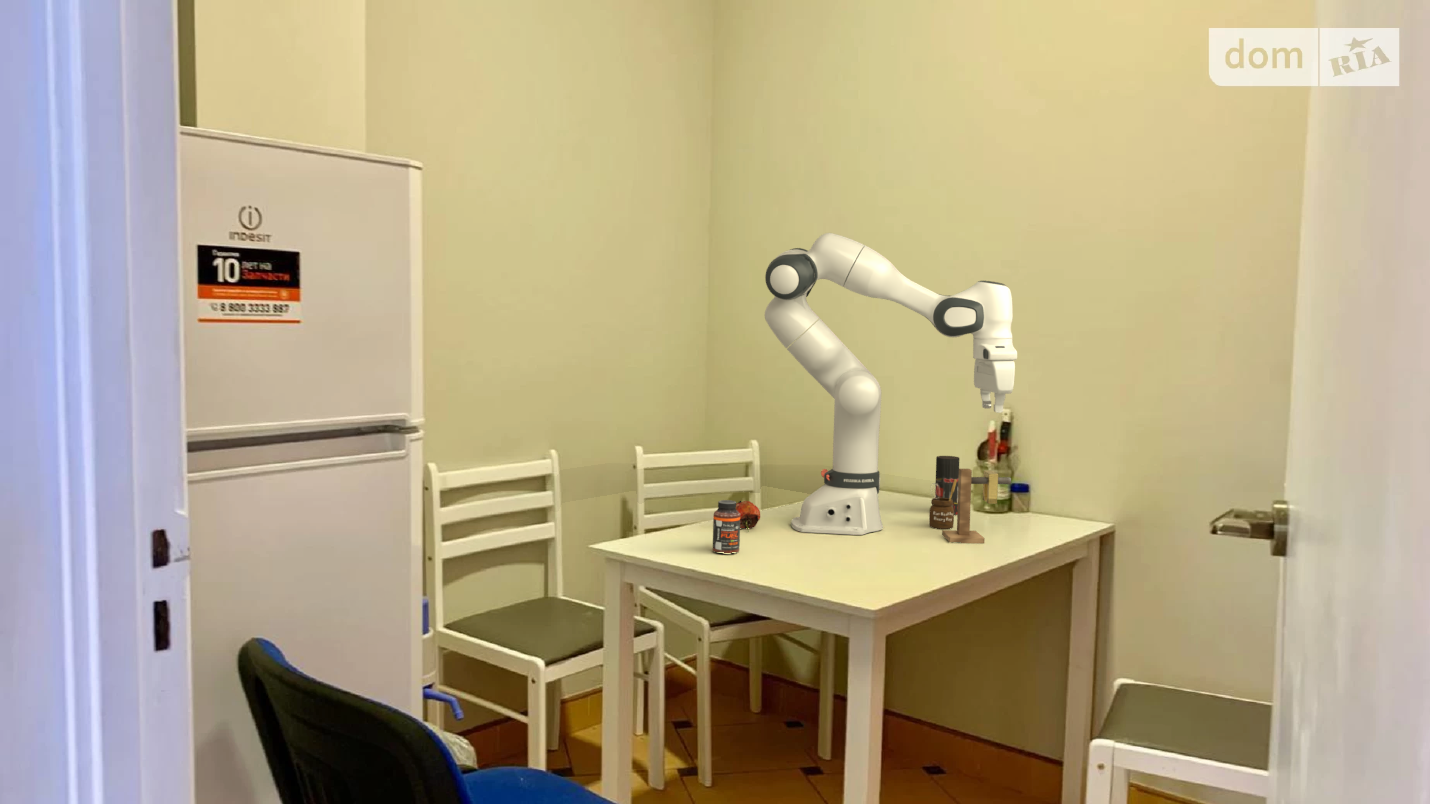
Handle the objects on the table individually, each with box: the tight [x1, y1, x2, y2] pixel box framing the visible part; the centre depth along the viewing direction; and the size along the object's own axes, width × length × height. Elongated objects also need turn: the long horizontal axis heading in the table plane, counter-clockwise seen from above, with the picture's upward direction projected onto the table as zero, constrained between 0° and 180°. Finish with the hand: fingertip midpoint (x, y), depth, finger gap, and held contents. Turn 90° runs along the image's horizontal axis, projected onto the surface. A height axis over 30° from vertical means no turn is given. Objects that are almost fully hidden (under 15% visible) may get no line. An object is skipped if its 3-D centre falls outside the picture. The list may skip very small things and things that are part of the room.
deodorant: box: [934, 455, 960, 516], centre depth 270 cm, size 6×6×15 cm
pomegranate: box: [736, 500, 761, 533], centre depth 248 cm, size 7×7×10 cm
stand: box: [941, 468, 1012, 544], centre depth 240 cm, size 15×8×17 cm, turn 90°
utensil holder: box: [928, 479, 957, 530], centre depth 253 cm, size 6×6×12 cm
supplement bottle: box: [712, 499, 741, 553], centre depth 225 cm, size 6×6×11 cm
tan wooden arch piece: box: [982, 469, 999, 505], centre depth 240 cm, size 2×5×7 cm, turn 0°
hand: (992, 410), depth 239 cm, fingers open, 8 cm apart
